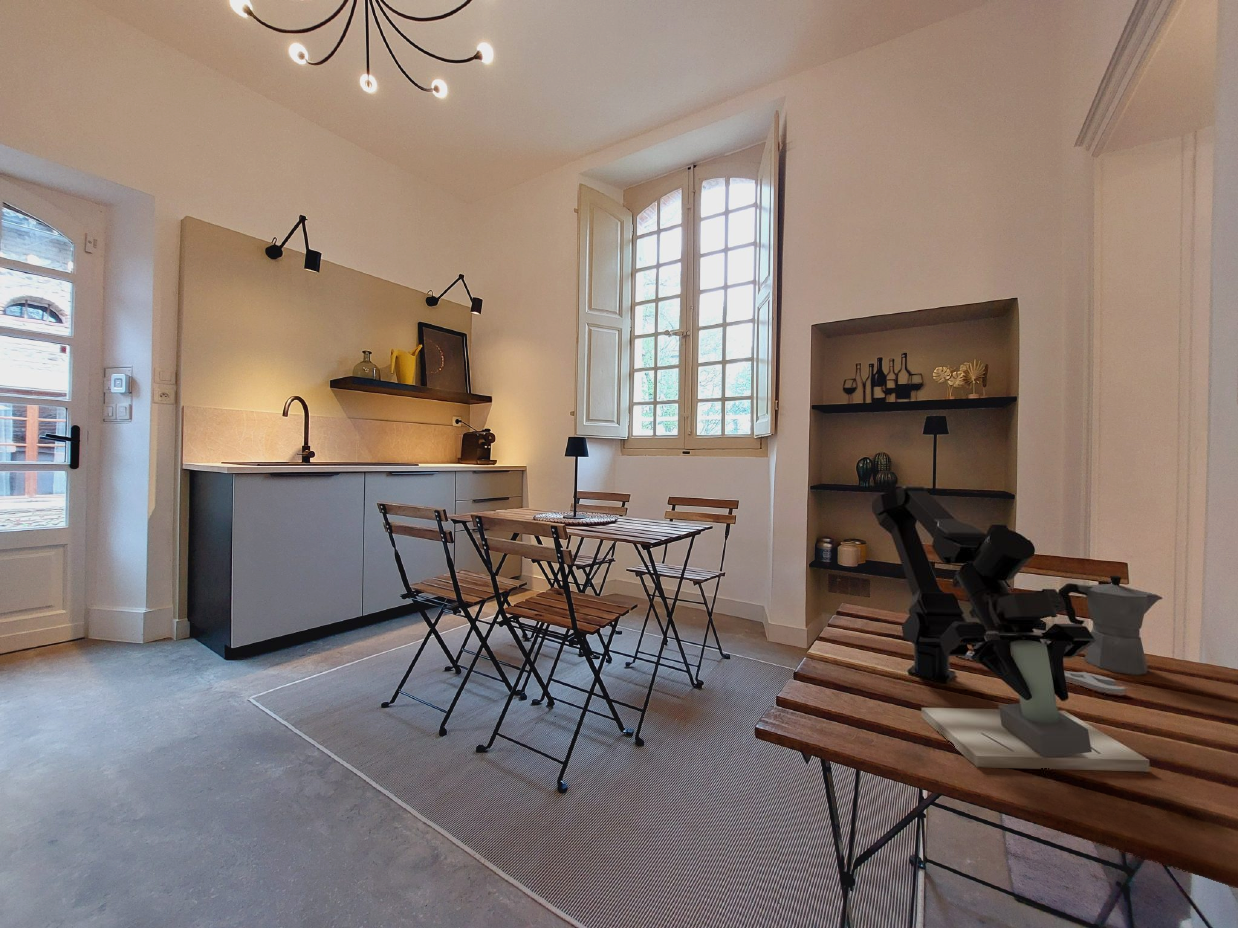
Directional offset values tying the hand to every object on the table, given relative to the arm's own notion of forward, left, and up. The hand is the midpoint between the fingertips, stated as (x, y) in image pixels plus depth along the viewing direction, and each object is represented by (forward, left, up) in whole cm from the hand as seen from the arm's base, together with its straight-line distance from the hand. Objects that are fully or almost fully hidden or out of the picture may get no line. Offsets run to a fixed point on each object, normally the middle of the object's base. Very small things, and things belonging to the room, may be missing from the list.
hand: (1047, 699), depth 67 cm
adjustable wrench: (-36, -7, -9) cm, 38 cm away
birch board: (-4, -3, -8) cm, 10 cm away
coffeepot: (-52, +2, -9) cm, 53 cm away
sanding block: (-2, -1, -6) cm, 7 cm away
